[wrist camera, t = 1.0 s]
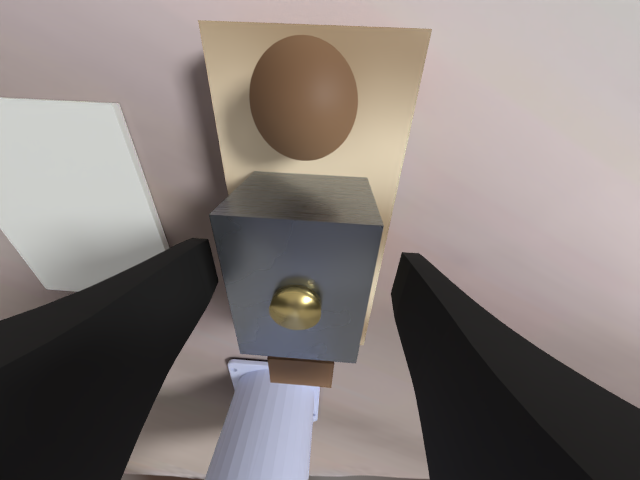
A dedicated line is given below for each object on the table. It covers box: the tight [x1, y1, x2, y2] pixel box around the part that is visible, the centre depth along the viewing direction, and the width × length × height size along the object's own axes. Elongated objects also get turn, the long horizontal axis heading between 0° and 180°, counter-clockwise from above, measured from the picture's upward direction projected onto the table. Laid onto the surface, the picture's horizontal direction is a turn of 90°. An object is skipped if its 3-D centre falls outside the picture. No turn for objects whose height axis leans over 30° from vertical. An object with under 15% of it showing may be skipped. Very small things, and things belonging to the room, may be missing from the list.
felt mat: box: [0, 97, 169, 292], centre depth 14 cm, size 12×10×1 cm
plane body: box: [198, 20, 432, 388], centre depth 11 cm, size 15×7×6 cm, turn 178°
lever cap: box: [209, 171, 384, 363], centre depth 9 cm, size 6×4×4 cm
